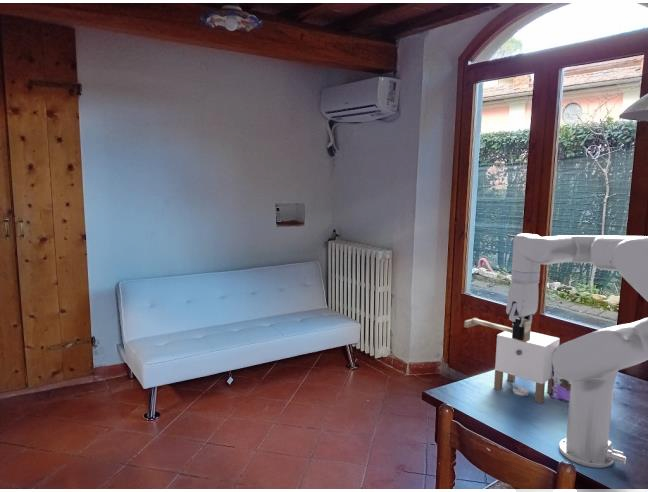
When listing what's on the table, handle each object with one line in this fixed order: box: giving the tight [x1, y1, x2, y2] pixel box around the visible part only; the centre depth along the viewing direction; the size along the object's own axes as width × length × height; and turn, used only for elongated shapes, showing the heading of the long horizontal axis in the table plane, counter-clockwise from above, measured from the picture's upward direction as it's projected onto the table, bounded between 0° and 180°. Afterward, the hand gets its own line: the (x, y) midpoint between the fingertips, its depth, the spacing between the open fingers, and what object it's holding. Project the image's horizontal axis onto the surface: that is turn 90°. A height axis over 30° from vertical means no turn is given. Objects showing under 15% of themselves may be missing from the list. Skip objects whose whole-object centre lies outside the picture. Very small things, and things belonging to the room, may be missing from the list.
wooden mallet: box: [463, 317, 532, 342], centre depth 148 cm, size 20×6×6 cm, turn 39°
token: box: [512, 386, 530, 397], centre depth 163 cm, size 5×5×1 cm
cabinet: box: [493, 331, 560, 404], centre depth 163 cm, size 16×13×19 cm
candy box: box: [550, 367, 572, 403], centre depth 156 cm, size 14×6×16 cm, turn 47°
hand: (521, 337), depth 142 cm, fingers closed on wooden mallet, 3 cm apart
